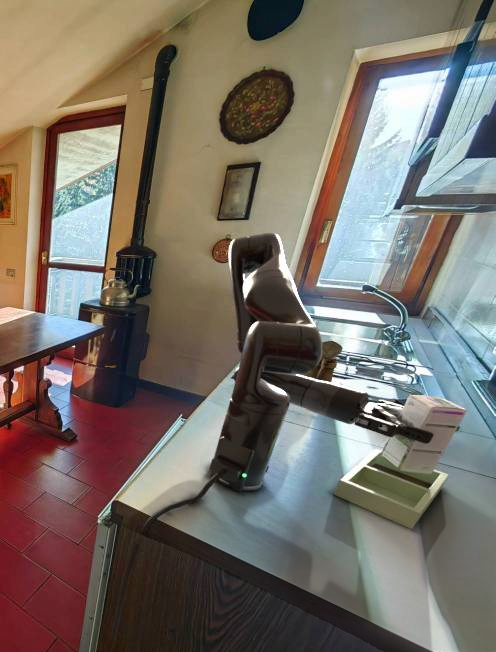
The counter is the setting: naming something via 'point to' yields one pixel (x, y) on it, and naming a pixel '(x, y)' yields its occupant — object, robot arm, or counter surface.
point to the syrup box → (428, 417)
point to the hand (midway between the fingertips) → (437, 433)
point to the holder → (390, 489)
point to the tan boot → (326, 362)
